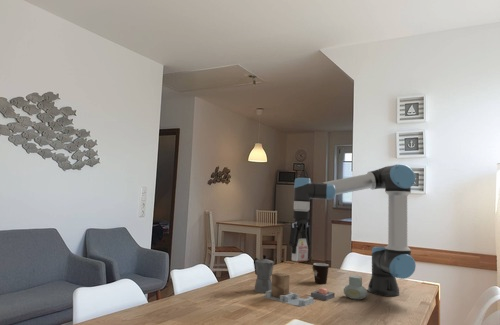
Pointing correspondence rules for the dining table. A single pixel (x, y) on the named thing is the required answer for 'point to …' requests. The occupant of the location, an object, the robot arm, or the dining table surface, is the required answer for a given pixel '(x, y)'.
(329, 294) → the switch box
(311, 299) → the board
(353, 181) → the robot arm
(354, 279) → the air freshener
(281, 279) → the walnut block
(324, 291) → the button
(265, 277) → the coffeepot
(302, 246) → the tea bag
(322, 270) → the coffee mug
